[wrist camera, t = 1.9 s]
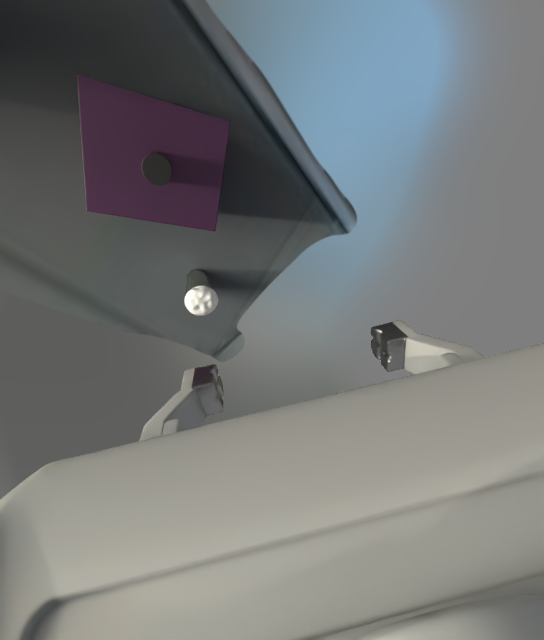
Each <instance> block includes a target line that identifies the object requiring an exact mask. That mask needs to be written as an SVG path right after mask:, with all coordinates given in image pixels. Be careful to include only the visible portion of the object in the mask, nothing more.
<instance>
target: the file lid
mask: <svg viewBox="0 0 544 640" xmlns="http://www.w3.org/2000/svg"><path fill="white" fill-rule="evenodd" d="M77 83H78V97H79V111H80V125H81V139H82V153H83V166H84V180H85V194H86V208H87V211H91V212H97V213H103V214H109V215H116V216H122V217H128V218H135V219H141V220H147V221H153V222H160V223H166V224H172V225H178V226H185V227H191V228H197V229H203V230H210V231H215V230H216V222H217V215H218V207H219V200H220V193H221V185H222V178H223V170H224V163H225V156H226V148H227V141H228V133H229V126H230V121H227V120H224V119H221V118H218V117H215V116H211V115H208V114H205V113H202V112H198V111H195V110H192V109H189V108H185V107H182V106H179V105H176V104H172V103H169V102H166V101H163V100H160V99H156V98H153V97H150V96H147V95H143V94H140V93H137V92H134V91H130V90H127V89H124V88H121V87H117V86H114V85H111V84H108V83H105V82H101V81H98V80H95V79H92V78H88V77H85V76H82V75H79V74H77Z"/></svg>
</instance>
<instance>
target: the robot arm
mask: <svg viewBox="0 0 544 640" xmlns="http://www.w3.org/2000/svg"><path fill="white" fill-rule="evenodd" d="M371 335H372V336H373V337H374V338H373V339H372V341H371V348H372V351H373V354H374V355H375V357H376V358H377V359H379V360H381V364H382V366H383V367H384V368H385V369H386V371H387V372H389V371H394V370H399V369H403V368H404V369H405V370H407V371H409V372H411V373H413V374H414V375H410V376H406V377H402V378H398V379H394V380H390V381H385V382H382V383H378V384H373V385H369V386H365V387H361V388H357V389H353V390H348V391H344V392H340V393H336V394H332V395H328V396H324V397H320V398H316V399H311V400H307V401H303V402H300V403H295V404H291V405H287V406H283V407H278V408H275V409H270V410H266V411H262V412H258V413H254V414H250V415H246V416H241V417H238V418H233V419H229V420H225V421H221V422H217V423H213V424H208V425H204V426H201V425H202V423H203V422H204V420H205V419H206V416H209V415H213V414H216V413H220V412H223V399H222V396H223V385H222V381H221V378H220V377H219V376H218V369H217V367H216V365H215V364H211V365H207V366H202V367H197V368H192V369H188V370H186V371H185V372H184V376H183V381H182V386H181V391H180V392H177V393H176V394H175V395H174V396H173V397H172V398H171V399H170V400H169V401H168V402H167V403H166V404H165V405H164V406H163V407H162V408H161V409H160V410H159V411H158V412H157V414H155V415H154V416H153V417H152V418H151V419H150V420H149V421H148V422H147V423H146V424H145V425H144V428H143V432H142V435H141V438H140V441H138V442H134V443H130V444H126V445H122V446H118V447H114V448H110V449H106V450H101V451H98V452H93V453H89V454H85V455H81V456H77V457H72V458H68V459H63V460H59V461H56V462H52V463H49V464H47V465H45V466H43V467H42V468H41V469H39V470H38V471H36V472H35V473H34V474H32V475H31V476H29V477H28V478H27V479H25V480H24V481H23V482H22V483H20V484H19V485H18V486H17V487H16V488H14V489H13V490H12V491H10V492H9V493H8V494H7V495H5V496H4V497H3V498H2V499H1V500H0V640H544V343H542V344H538V345H534V346H529V347H526V348H521V349H517V350H513V351H509V352H505V353H501V354H497V355H493V356H488V357H484V356H483V355H481V354H480V353H479V352H477V351H476V350H475V349H473V348H472V347H469V346H466V345H462V344H458V343H454V342H450V341H446V340H442V339H439V338H435V337H431V336H427V335H423V334H420V335H419V334H418V333H416V332H415V331H414V330H413V329H412V328H410V327H409V326H408V325H407V324H406V323H405V322H403V321H402V320H397V321H393V322H390V323H387V324H383V325H379V326H375V327H372V328H371Z"/></svg>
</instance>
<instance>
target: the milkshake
mask: <svg viewBox="0 0 544 640" xmlns="http://www.w3.org/2000/svg"><path fill="white" fill-rule="evenodd" d="M217 304H218V296H217V294H216V292H215V291H214V289H213V287H212V286H211V284H210V282H209V280H208V278H207V276H206V274H205V273H204V271H201V270H199V269H196V270H191V271H190V272H189V273H188V274H187V283H186V293H185V305H186V307H187V309H188V310H189V311H190V312H191V313H192V314H194V315H207V314H209V313H211V312H212V311H213V310H214V309H215V308H216V306H217Z"/></svg>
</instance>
